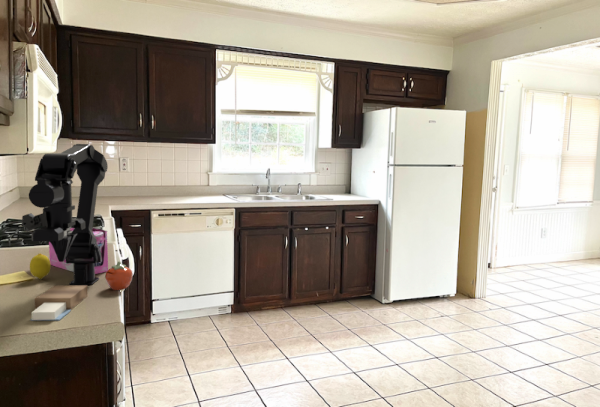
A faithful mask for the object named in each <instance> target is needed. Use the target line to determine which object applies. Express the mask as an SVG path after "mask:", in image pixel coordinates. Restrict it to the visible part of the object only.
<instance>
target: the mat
mask: <svg viewBox="0 0 600 407" xmlns="http://www.w3.org/2000/svg"><path fill="white" fill-rule="evenodd" d="M71 311H72V310H65V311H64V312H62V313H61V314H60V315H59V316H58V317H57V318H56V319H55V320H54V321H61V320H62V319H64V317H66V316H67V315H68V314H70V313H71ZM29 321H36V322H37V321H38V320H32V318H30V320H29Z"/></svg>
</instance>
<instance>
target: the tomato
mask: <svg viewBox="0 0 600 407" xmlns="http://www.w3.org/2000/svg"><path fill="white" fill-rule="evenodd" d="M133 276H134V275H133V270H132V269H131V268H130V267H128V266H127V264H122V263H121V261H120V260H119V261H117V263H116V264H114V265H112V266H111V268H108V271H107V272H105V277H104V278H105V282H106V284H107V285H108V286H109V288H110V289H112V291H123V290H126V289H127V288H128V287H129V286H130V285H131V282H132V281H133Z"/></svg>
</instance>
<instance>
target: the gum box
mask: <svg viewBox="0 0 600 407" xmlns="http://www.w3.org/2000/svg"><path fill="white" fill-rule="evenodd" d="M74 229H75V228H71V229H70V230H72V231H73V230H74ZM92 232H93V233H94V235H95V237H96V239H97V245H98V247H99V249H100V251H101V262H99V263H96V264H94V265H95V275H96V274H98V275H99V274H102V273H106V272H107V271H108V270H109V257H108V256H109V255H108V252H109V251H108V250H109V249H108V231H107V230H105V229H100V228H95V227H93V228H92ZM48 248H49V250H48V252H49V260H50V264H51V266H53V267H56V268H59V269H63V270H66V271H70V272H73V273H74V268H73V263H69V264H66V259H65V260H64V261H63V262H59V260H58V258H57V255H56V253H55V250H54V248H53V246H52V244H51V243H50V242H49V241H48Z"/></svg>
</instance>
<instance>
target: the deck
mask: <svg viewBox="0 0 600 407" xmlns="http://www.w3.org/2000/svg"><path fill="white" fill-rule="evenodd" d="M88 292H89V291H88V285H69V284H68V285H66V284H65V285H63V284H62V285H61V284H60V285H57V284H54V285H53V286H52V287H50V288H49V289H47V290H45V291H44V292H42V293H41V294H39V295H38V296H36V297H35V298H34V310H35V309H37V308H38V307H39V306H41V305H42V304H43V303H44V302H66V310H71V311H72V310H73V309H74V308H75V307H77V305H79V304H80V303H81V302H83V301H84V300H85V299H87V297H88V296H89V295H88ZM84 298H85V299H84ZM83 299H84V300H83Z"/></svg>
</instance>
